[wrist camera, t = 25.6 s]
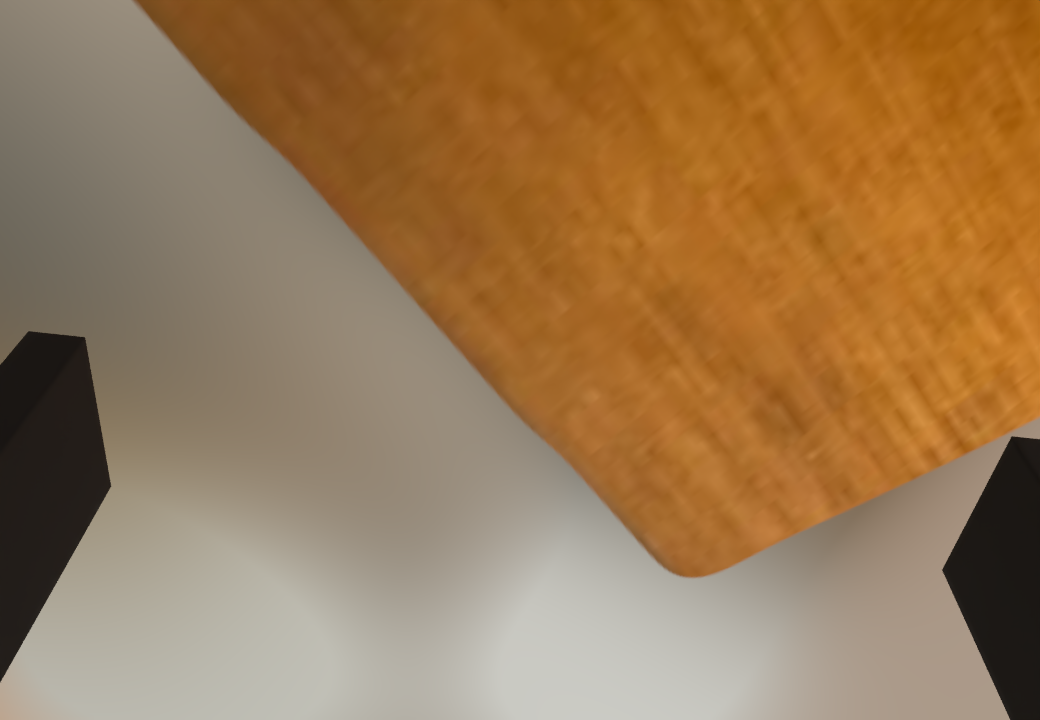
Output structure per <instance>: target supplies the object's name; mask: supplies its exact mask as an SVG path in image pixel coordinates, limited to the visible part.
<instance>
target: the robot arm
mask: <svg viewBox="0 0 1040 720" xmlns="http://www.w3.org/2000/svg"><path fill="white" fill-rule="evenodd" d="M110 487H111V483H110V478H109V472H108V466H107V461H106V455H105V449H104V443H103V437H102V432H101V426H100V420H99V415H98V409H97V403H96V398H95V392H94V386H93V380H92V375H91V369H90V363H89V357H88V352H87V346H86V340H85V337H77V336H68V335H58V334H48V333H40V332H39V333H38V332H30V331H29V332H28V333H27V334H26V335H25V336H24V337H23V339H22V340H21V341H20V342H19V343H18V345H17V346H16V347H15V348H14V349H13V351H12V352H11V353H10V354H9V355H8V356H7V358H6V359H5V360H4V361H3V363H2V364H1V365H0V682H1V680H2V678H3V677H4V675H5V673H6V671H7V669H8V668H9V666H10V664H11V663H12V661H13V659H14V657H15V655H16V654H17V652H18V650H19V648H20V647H21V645H22V643H23V641H24V640H25V638H26V636H27V634H28V632H29V631H30V629H31V627H32V625H33V624H34V622H35V620H36V618H37V616H38V615H39V613H40V611H41V609H42V608H43V606H44V604H45V602H46V600H47V599H48V597H49V595H50V594H51V592H52V590H53V588H54V586H55V585H56V583H57V581H58V579H59V578H60V576H61V574H62V572H63V571H64V569H65V567H66V565H67V563H68V562H69V560H70V558H71V556H72V554H73V553H74V551H75V549H76V548H77V546H78V544H79V542H80V540H81V539H82V537H83V535H84V533H85V532H86V530H87V528H88V526H89V525H90V523H91V521H92V519H93V517H94V515H95V514H96V512H97V510H98V509H99V507H100V505H101V503H102V501H103V500H104V498H105V496H106V494H107V493H108V491H109V489H110ZM942 571H943V573H944V575H945V577H946V579H947V581H948V584H949V586H950V588H951V590H952V593H953V595H954V597H955V599H956V601H957V603H958V606H959V608H960V610H961V612H962V615H963V617H964V619H965V621H966V623H967V626H968V628H969V630H970V632H971V634H972V636H973V638H974V641H975V643H976V645H977V648H978V650H979V652H980V654H981V656H982V658H983V661H984V663H985V665H986V667H987V670H988V672H989V674H990V676H991V678H992V680H993V683H994V685H995V687H996V689H997V692H998V694H999V696H1000V698H1001V700H1002V703H1003V705H1004V707H1005V709H1006V711H1007V714H1008V716H1009V718H1010V720H1040V439H1030V438H1021V437H1011V439H1010V441H1009V443H1008V445H1007V447H1006V449H1005V451H1004V452H1003V454H1002V456H1001V458H1000V460H999V462H998V464H997V466H996V468H995V470H994V472H993V474H992V475H991V478H990V479H989V481H988V483H987V485H986V487H985V489H984V491H983V493H982V495H981V497H980V498H979V500H978V502H977V504H976V506H975V508H974V510H973V512H972V514H971V516H970V518H969V519H968V521H967V524H966V526H965V527H964V529H963V531H962V533H961V535H960V537H959V539H958V541H957V543H956V544H955V546H954V548H953V550H952V552H951V554H950V556H949V558H948V560H947V562H946V564H945V566H944V568H943V570H942Z"/></svg>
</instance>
